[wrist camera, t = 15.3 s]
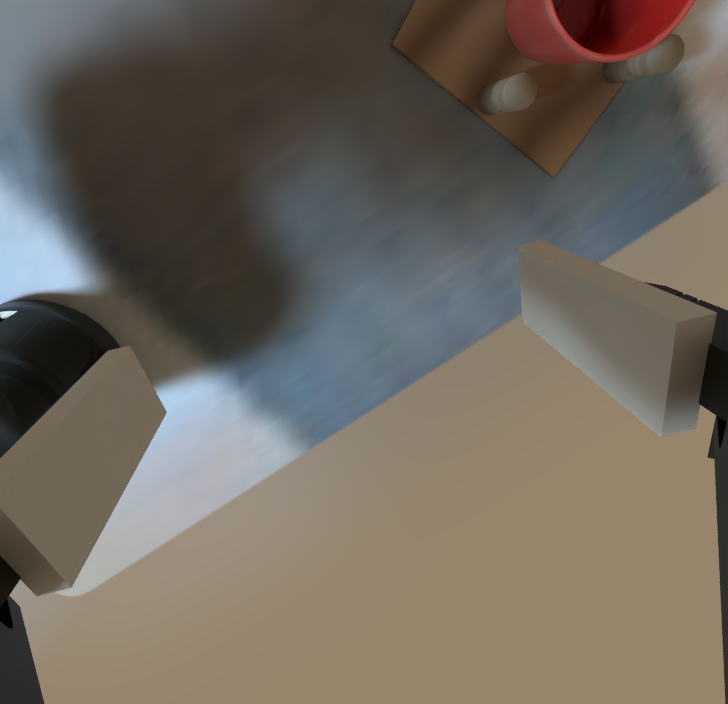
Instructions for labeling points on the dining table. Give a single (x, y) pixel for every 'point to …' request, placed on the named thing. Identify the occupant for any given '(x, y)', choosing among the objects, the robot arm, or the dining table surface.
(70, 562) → the robot arm
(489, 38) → the plant stand
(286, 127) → the dining table surface
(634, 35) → the flower pot
